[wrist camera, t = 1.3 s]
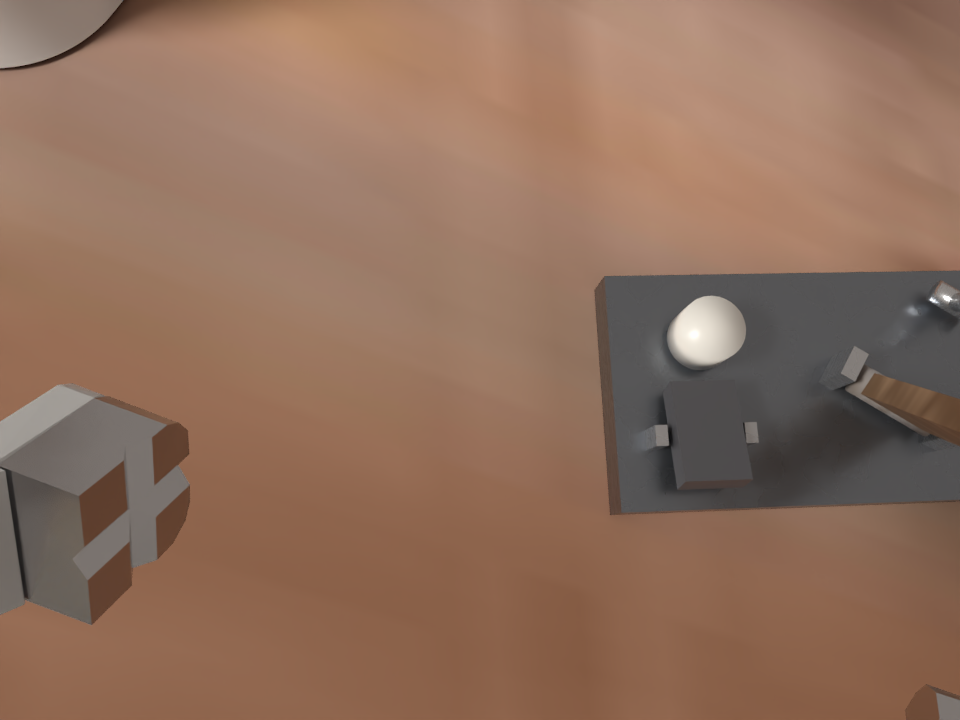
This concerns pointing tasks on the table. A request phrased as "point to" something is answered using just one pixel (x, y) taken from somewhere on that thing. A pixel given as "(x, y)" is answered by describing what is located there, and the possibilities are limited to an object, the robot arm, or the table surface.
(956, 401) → the lever
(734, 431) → the block
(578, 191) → the table surface
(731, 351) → the button
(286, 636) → the table surface
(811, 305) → the panel
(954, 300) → the stub toggle
